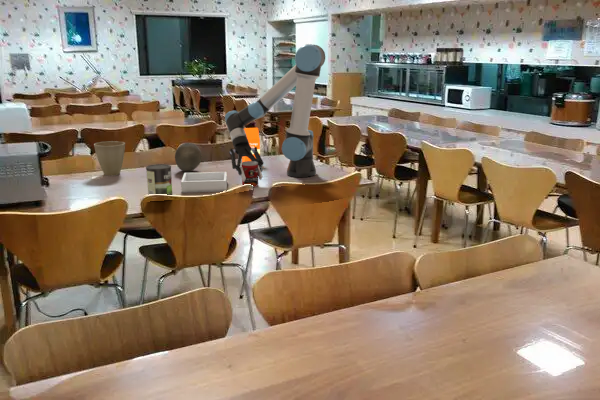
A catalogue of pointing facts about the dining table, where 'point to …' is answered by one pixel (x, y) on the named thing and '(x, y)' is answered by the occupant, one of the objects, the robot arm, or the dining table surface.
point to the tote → (204, 182)
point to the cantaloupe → (188, 157)
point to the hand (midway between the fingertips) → (252, 179)
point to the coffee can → (159, 179)
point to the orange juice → (252, 141)
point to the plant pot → (110, 156)
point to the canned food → (250, 172)
